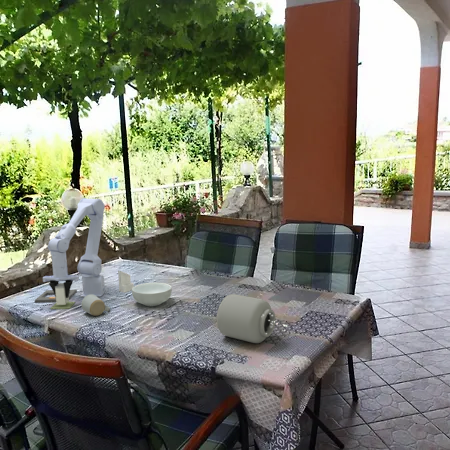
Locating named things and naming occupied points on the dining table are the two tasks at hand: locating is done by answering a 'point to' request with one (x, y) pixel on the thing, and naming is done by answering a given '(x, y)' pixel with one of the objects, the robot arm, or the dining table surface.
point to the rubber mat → (63, 306)
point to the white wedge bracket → (124, 282)
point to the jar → (245, 318)
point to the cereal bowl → (151, 293)
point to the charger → (61, 294)
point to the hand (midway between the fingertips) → (62, 297)
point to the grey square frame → (51, 299)
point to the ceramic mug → (94, 305)
